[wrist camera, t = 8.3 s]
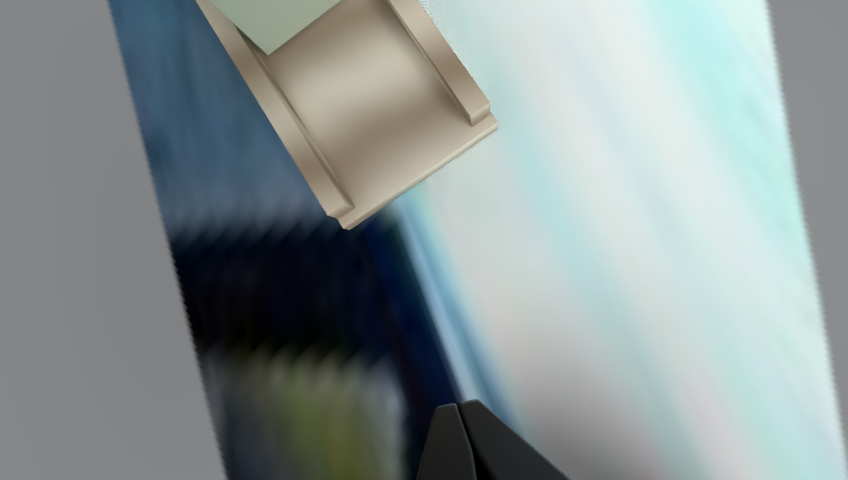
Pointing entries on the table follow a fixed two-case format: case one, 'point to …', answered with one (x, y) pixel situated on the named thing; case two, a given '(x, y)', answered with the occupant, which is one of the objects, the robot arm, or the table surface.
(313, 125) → the birch rail
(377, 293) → the table surface
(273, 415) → the table surface
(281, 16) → the sliding block
